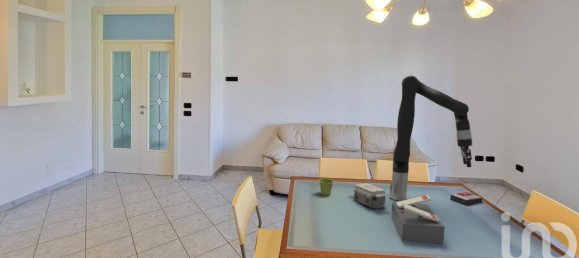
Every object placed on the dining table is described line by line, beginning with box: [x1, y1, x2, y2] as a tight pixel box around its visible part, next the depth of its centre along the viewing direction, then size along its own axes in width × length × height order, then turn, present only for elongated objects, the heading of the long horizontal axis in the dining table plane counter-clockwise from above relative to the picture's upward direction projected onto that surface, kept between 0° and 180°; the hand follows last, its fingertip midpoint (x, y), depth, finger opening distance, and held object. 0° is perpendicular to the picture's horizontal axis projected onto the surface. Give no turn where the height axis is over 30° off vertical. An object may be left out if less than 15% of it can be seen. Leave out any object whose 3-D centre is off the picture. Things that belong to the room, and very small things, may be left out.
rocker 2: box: [403, 203, 441, 222], centre depth 159 cm, size 6×16×1 cm, turn 83°
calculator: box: [449, 192, 483, 207], centre depth 210 cm, size 11×4×15 cm
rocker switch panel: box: [390, 201, 446, 244], centre depth 167 cm, size 28×18×10 cm, turn 173°
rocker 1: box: [395, 194, 432, 208], centre depth 174 cm, size 6×16×1 cm, turn 83°
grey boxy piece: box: [350, 183, 390, 209], centre depth 202 cm, size 12×28×10 cm, turn 21°
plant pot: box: [318, 178, 334, 196], centre depth 216 cm, size 9×9×9 cm
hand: (467, 165), depth 196 cm, fingers open, 8 cm apart
